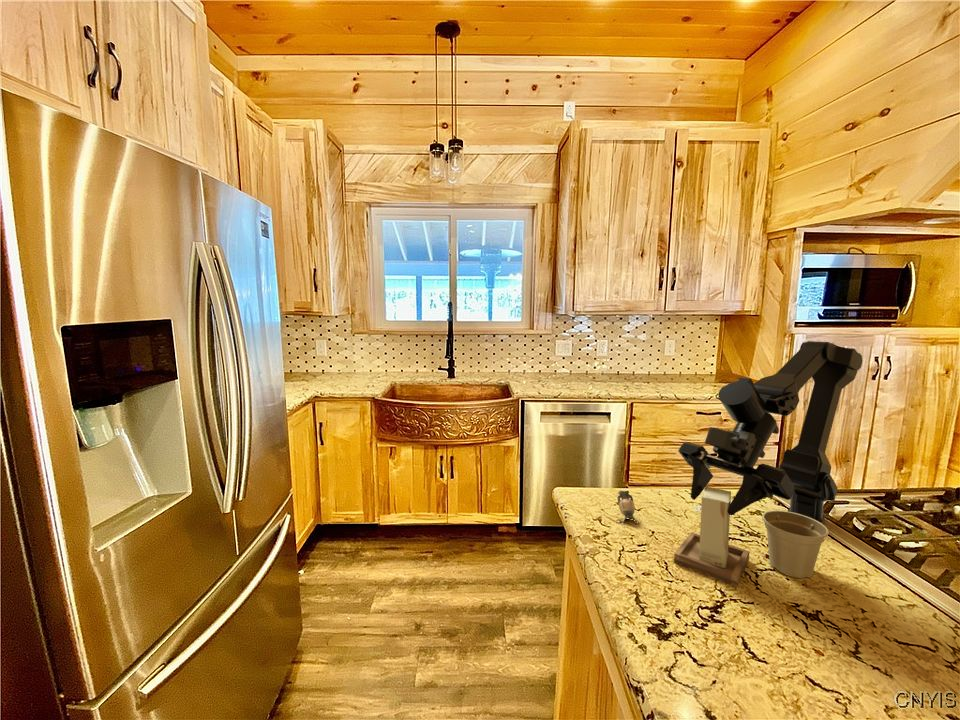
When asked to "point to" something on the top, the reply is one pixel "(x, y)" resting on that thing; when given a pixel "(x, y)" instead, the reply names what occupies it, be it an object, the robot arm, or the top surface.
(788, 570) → the flower pot
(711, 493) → the skincare box
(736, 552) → the walnut tray
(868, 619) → the top surface
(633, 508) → the vase
